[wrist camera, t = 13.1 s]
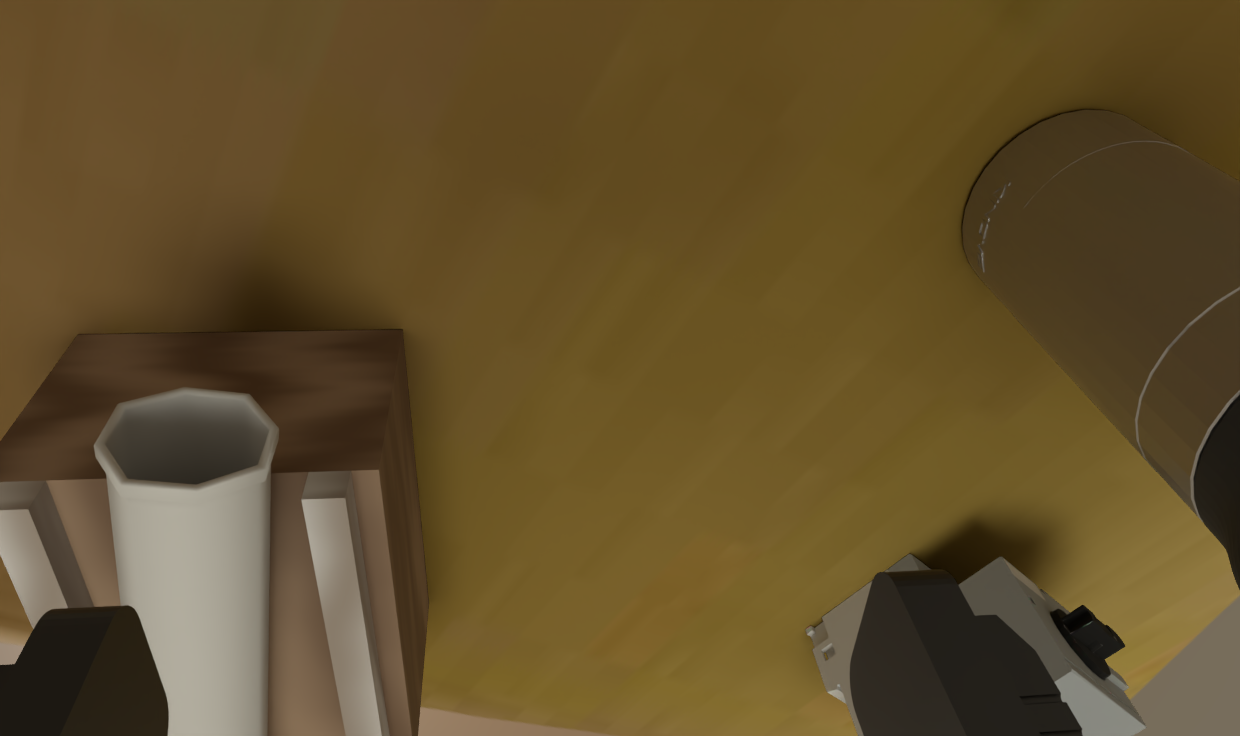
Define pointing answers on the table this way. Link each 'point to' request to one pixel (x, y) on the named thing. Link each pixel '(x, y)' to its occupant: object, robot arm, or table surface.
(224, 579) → the tube
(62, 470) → the stand
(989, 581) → the circuit breaker
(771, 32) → the table surface
